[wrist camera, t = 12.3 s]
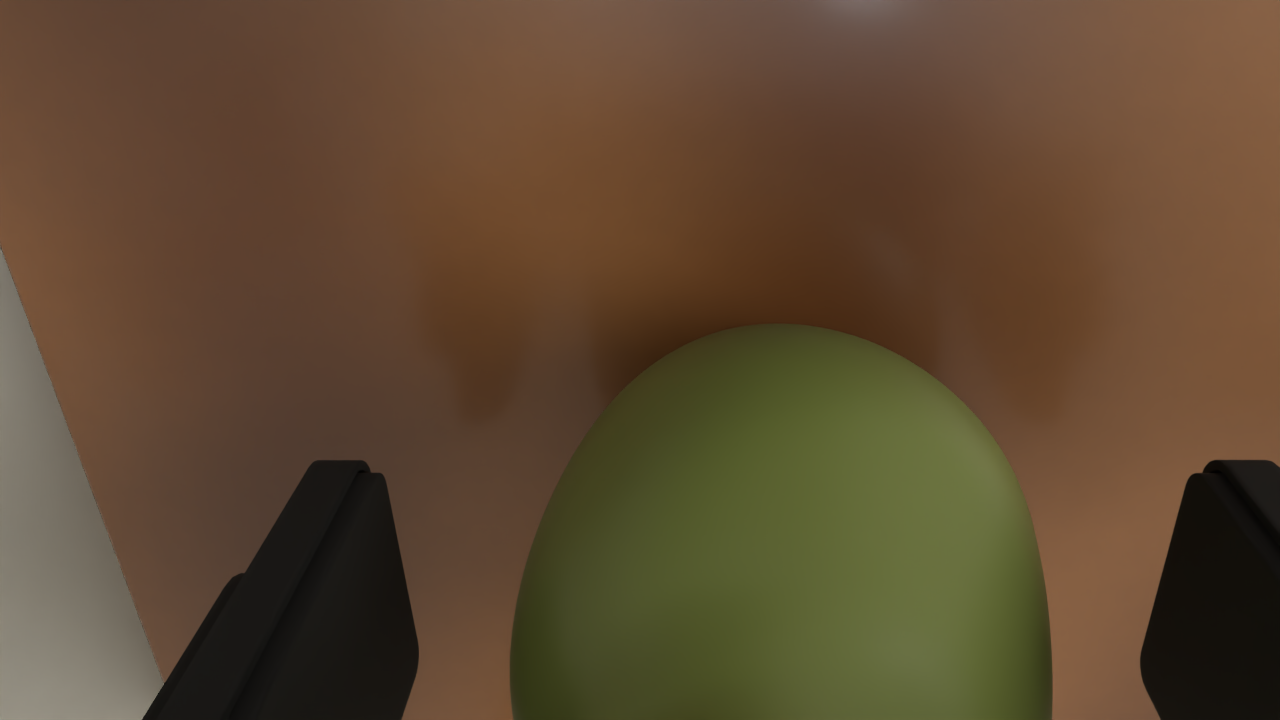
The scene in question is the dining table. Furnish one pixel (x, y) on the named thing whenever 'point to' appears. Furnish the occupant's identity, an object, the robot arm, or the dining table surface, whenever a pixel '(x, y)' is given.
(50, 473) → the dining table surface
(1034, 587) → the pear
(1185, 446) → the cutting board
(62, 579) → the dining table surface
